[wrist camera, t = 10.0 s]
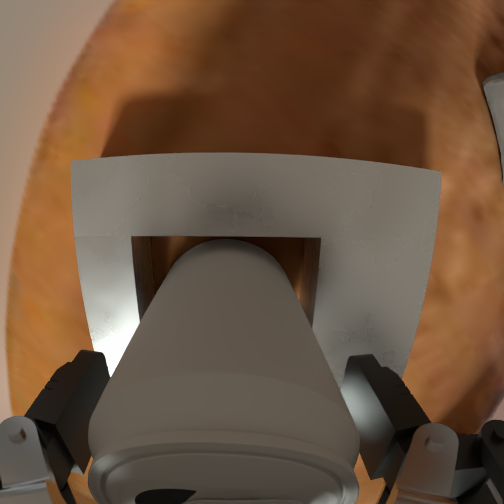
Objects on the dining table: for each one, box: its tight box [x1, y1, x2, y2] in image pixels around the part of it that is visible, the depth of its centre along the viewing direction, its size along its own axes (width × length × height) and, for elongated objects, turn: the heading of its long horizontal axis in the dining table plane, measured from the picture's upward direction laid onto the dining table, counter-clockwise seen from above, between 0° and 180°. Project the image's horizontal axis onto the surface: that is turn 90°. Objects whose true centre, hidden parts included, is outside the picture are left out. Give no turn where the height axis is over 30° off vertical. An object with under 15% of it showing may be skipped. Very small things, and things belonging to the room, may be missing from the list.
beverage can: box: [88, 239, 360, 504], centre depth 10 cm, size 6×6×12 cm
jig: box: [71, 153, 442, 391], centre depth 15 cm, size 16×14×3 cm
